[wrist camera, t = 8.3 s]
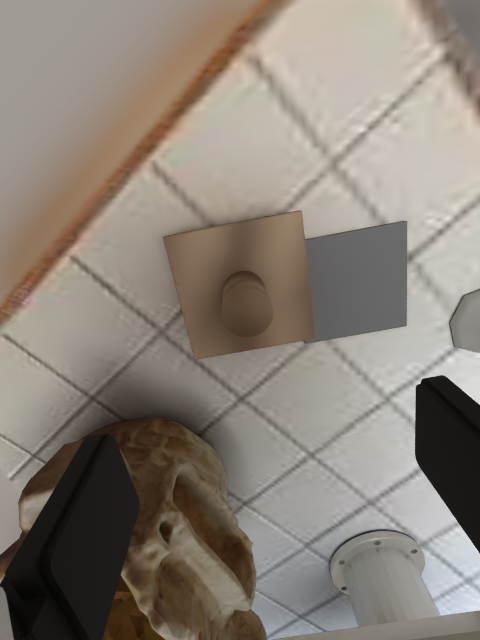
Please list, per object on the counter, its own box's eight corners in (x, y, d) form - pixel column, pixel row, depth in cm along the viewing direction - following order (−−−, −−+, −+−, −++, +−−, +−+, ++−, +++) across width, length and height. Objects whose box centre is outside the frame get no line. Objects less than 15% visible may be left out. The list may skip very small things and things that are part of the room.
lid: (298, 210, 24) (319, 216, 19) (312, 333, 28) (333, 369, 22) (165, 235, 25) (146, 249, 19) (195, 354, 28) (187, 394, 23)
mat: (404, 324, 33) (406, 325, 32) (304, 342, 33) (305, 343, 33) (404, 220, 29) (407, 221, 29) (292, 241, 29) (293, 242, 29)
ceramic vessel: (-130, 492, 28) (-430, 992, 8) (127, 341, 40) (266, 383, 20) (27, 642, 35) (79, 1090, 15) (202, 475, 47) (357, 603, 28)
